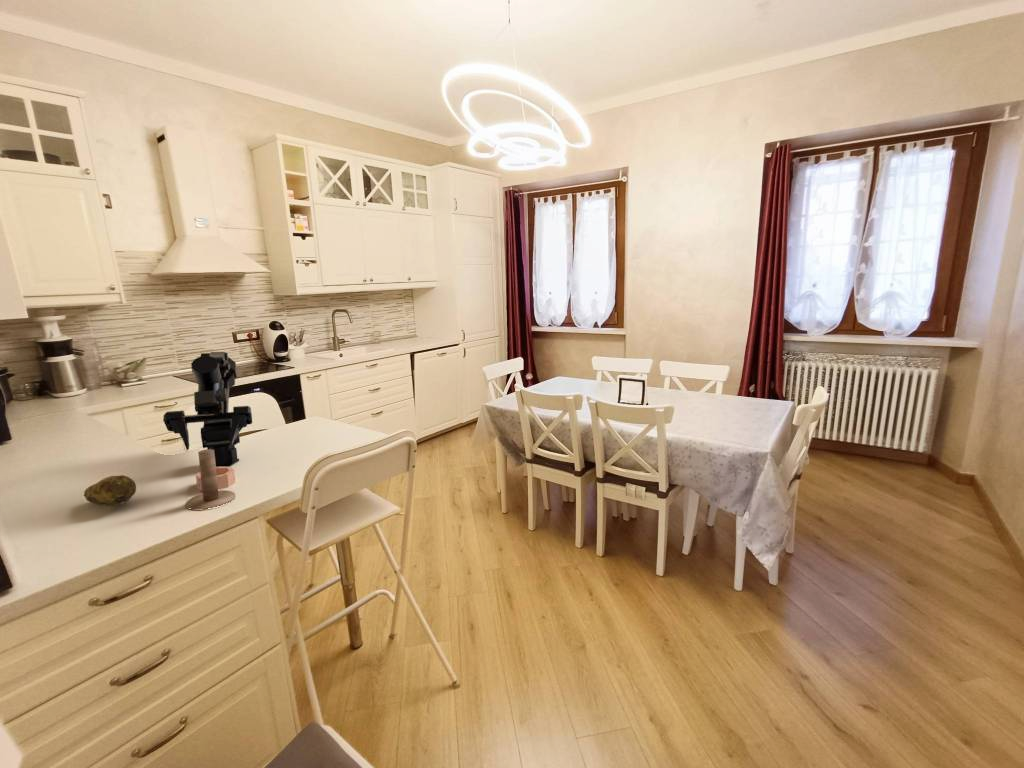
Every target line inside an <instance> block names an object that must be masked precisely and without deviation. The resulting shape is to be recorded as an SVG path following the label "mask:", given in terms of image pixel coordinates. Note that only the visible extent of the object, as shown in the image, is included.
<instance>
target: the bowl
mask: <svg viewBox="0 0 1024 768" xmlns="http://www.w3.org/2000/svg"><path fill="white" fill-rule="evenodd" d="M216 472H217V482H218V489H219V490H222V489H221V488H223V489H226V488H225V487H227V488H229V487H231V486H232V485H234V484H235V483H236V475H235V469H234V468H233V467H231V466H229V467H216ZM195 478H196V479H195V480H196V486H198V487H199V488H198V487H197V488H198V489H199V491H200V490H202V483H201V473H200V471H199V472H197V473H195Z"/></svg>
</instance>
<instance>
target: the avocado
mask: <svg viewBox="0 0 1024 768" xmlns="http://www.w3.org/2000/svg"><path fill="white" fill-rule="evenodd" d="M136 492H137V484H136V482H135V481H134V480H133V479H131V478H130V477H128V476H126V475H122V474H121V475H113V476H112V475H111V476H107V477H105V478H102V479H101V480H99V481H98V482H96V483H94V484H92V485H90V486H88V487H86V489H85V490H84V492H83V496H84V498H85V500H86V501H87V502H90V503H92V504H99V505H103V506H116V505H117V506H118V505H120V504H123V503H126V502H128V501H130V500H131V498H133V496H134V495H135V494H136Z"/></svg>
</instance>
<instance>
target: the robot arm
mask: <svg viewBox="0 0 1024 768" xmlns="http://www.w3.org/2000/svg"><path fill="white" fill-rule="evenodd" d="M190 365H191V372H192V374H193V375H194V380H195V381H196V383H197V384H198V385H197V386H198V387H197V388H198V389H197V391H195V392H194V393H193V395H194V396H193V397H194V398H193V401H194V403H193V404H194V412H196V414H186V413H185V412H184V410H173V411H172V410H170V411H166V412H165V413H164V414H163V420H162V421H163V423H164V425H165V427H166V430H167V431H168V432H173V433H174V434H179V436H180V437H181V439H182V441H183V444H184V446H185V449H186V450H188V451H189V449H190V437H189V430H188V424H192V423H193V424H195V423H203V427H200V438H201V444H202V449H206V450H207V449H213V450H214V453H215V462H216V467H231V466H233V465H234V464H235V463H237V462H239V461H240V458H238V452H237V451H238V450H237V447H236V445H238V444H240V443H241V440H240V432H241V431H242V430H243V428H246V427H247V426H248V425H251V424H253V413H252V408H251V406H249V405H241V406H233V407H232V411H231V412H229V403H230V402H229V399H230V389H232V387H234V386H235V385H236V379H238V368H237V363H236V361H234V359H232V358H231V357H229V354H228V352H225V351H215V352H214V351H211V352H205V353H203V352H202V353H200V356H199V357H196V358H195V359H194V360H193V361H192V362H191V364H190Z"/></svg>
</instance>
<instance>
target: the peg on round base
mask: <svg viewBox="0 0 1024 768" xmlns="http://www.w3.org/2000/svg"><path fill="white" fill-rule="evenodd" d="M197 455H198V463H199V472H200V473H201V483H202V491H201V493H200V494H197V495H195V496H192V497H191V498H190V499H188V500H187V501H186V502H185V505H186V508H187V507H188V508H191V509H208V508H213V507H217V506H221V505H223V504H226V503H229V502H230V503H232V502H233V501H235V499H236V493H235V492H234V491H231V490H223V489H219V490H218V482H217V472H216V462H215V453H214V450H213V449H207V448H206V449H203V450H199V451H198V452H197ZM232 500H233V501H232ZM231 501H232V502H231ZM230 503H229V504H230ZM226 505H227V504H226ZM221 507H222V506H221ZM188 508H187V509H188ZM191 509H190V510H191Z"/></svg>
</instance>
